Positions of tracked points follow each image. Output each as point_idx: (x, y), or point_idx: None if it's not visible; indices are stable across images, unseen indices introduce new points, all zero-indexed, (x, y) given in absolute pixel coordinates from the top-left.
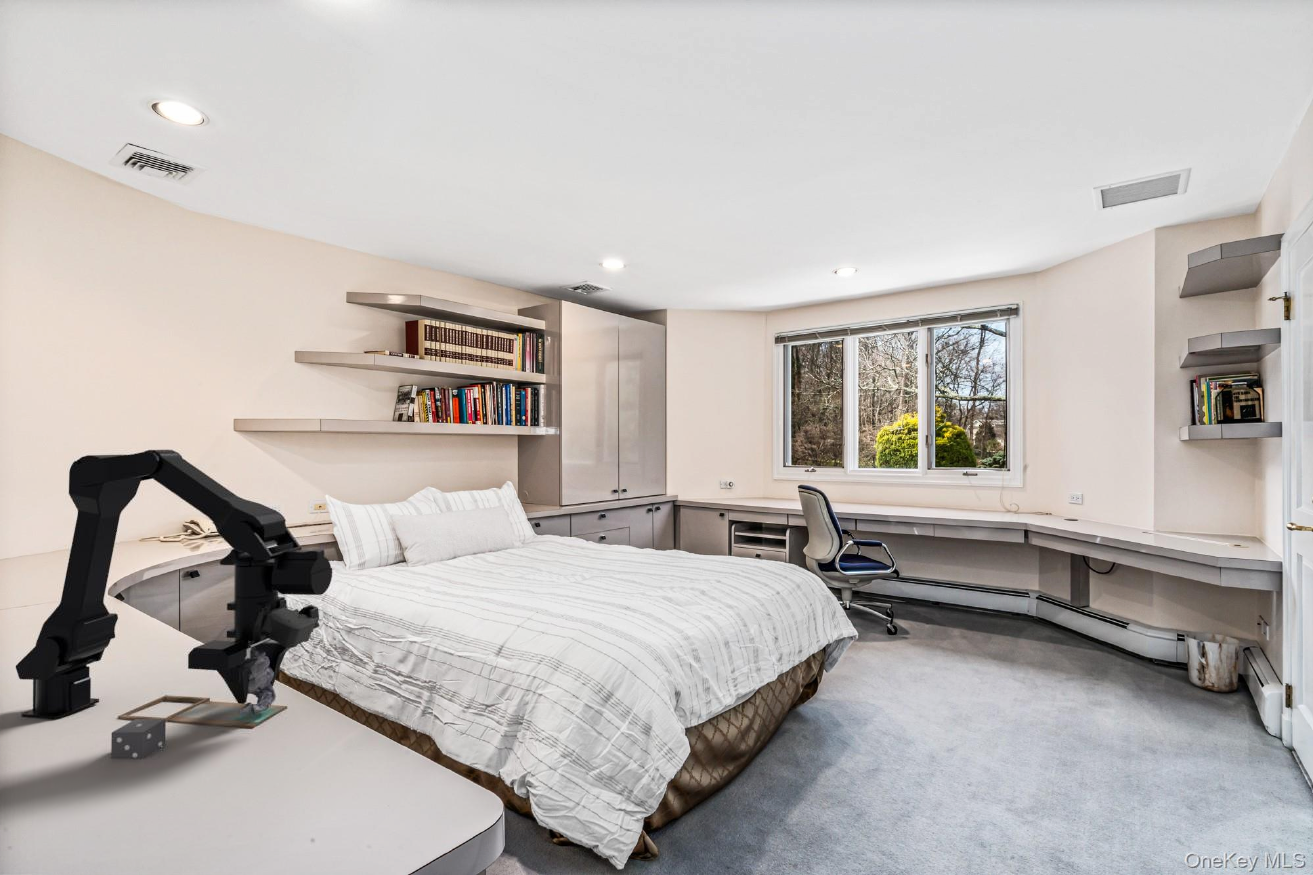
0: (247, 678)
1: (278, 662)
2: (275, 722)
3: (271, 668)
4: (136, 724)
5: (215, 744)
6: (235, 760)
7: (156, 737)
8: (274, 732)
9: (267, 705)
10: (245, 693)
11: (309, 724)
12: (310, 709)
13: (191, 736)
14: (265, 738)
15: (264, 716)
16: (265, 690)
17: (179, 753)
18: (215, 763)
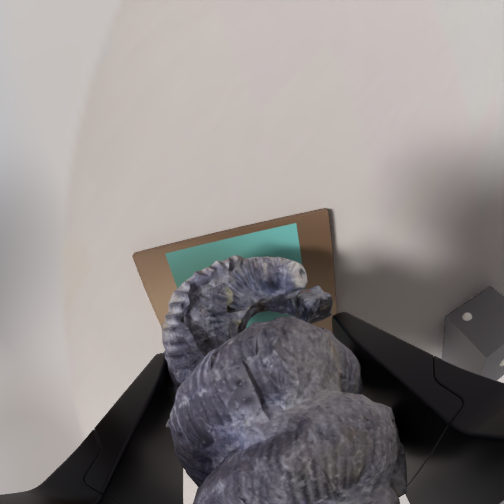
0: (428, 381)
1: (103, 456)
2: (255, 169)
3: (148, 444)
4: (497, 370)
5: (434, 217)
6: (474, 79)
7: (488, 322)
8: (327, 92)
9: (241, 260)
10: (372, 331)
11: (219, 19)
12: (100, 148)
13: (399, 324)
14: (373, 87)
15: (244, 250)
16: (215, 341)
17: (470, 256)
18: (491, 120)
